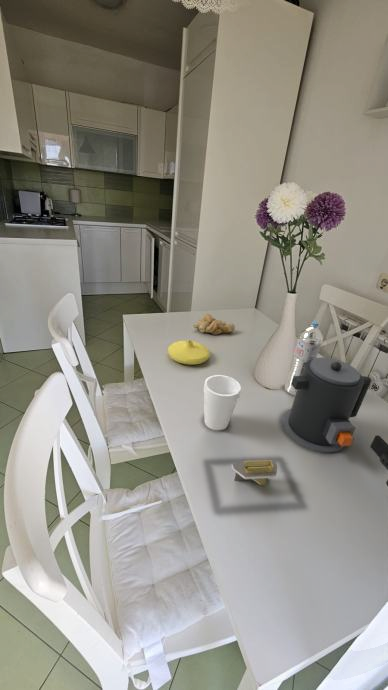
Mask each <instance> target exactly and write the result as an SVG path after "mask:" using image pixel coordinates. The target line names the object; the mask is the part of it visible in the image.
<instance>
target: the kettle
mask: <svg viewBox="0 0 388 690" xmlns="http://www.w3.org/2000/svg"><path fill="white" fill-rule="evenodd" d="M291 384H292V386H293V387H294V388H295V389H297V392H296V396H295V395H294V398H293V402H292V404H291V405H292V406H291V408H289V409H288V410H286V411H285V413H284V414H283V415H282V419H281V424H282V427H283V430H284V432H285V434H287V436H288V437H289V438H290V439H291V440H292V441H294V442H295V443H296V444H298V445H299V446H301V447H303V448H305V449H308V450H310V451H314V452H317V453H323V454H332V453H333V454H334V453H337V452H339V451H341V450H342V449H343V448H344V447H345V446H341V445H340V444H339V442H338V441H337V440H336V438H337V435H338V433H339V432H343V431H348V432H349V433H350V434H351V436H352V437H353V435H354V432H355V431H356V426H354V425H353V423H352V422H351V421H350V418H355V417H356V416H357V415H358V413H359V411H360V408H361V406H362V405H363V402H364V400H365V397H366V395H367V392H368V390H369V388H370V386H371V384H372V378H371V377H370V376H366V375H362V374H361V373H360V372H359V371H358V370H357V368H355V367H354V366H352V365H350V364H349V363H347V362H345V361H342V360H339V359H335V358H332V357H326V356H325V357H323V356H322V357H317V358H315V359H311V360H309V361H307V362H306V364H305V367H304V370H303V373H302V376H293V379H292V382H291Z"/></svg>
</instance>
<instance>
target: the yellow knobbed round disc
mask: <svg viewBox="0 0 388 690" xmlns="http://www.w3.org/2000/svg"><path fill="white" fill-rule="evenodd" d="M167 353H168V357H169V358H171V359H172V360H173V361H174V362H176V363H180V364H184V365H200V364H202V363H205V362H206V361H208V359H209V358H210V356H211V352H210V349H209V348H208V346H206V345H204V344H203V343H201V342H197V341H193V340H191V339H188V340H179V341H175V342H173V343H171V344H170V345H169V347H168V348H167Z"/></svg>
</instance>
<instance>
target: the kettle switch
mask: <svg viewBox="0 0 388 690" xmlns="http://www.w3.org/2000/svg"><path fill="white" fill-rule="evenodd" d="M336 440H337V441H338V442H339V444H340V445H341V446H344V447H350V446H352V443H353V441H354V437H353V435H352V436H351V434H350V433H349V432H348V431H343V432H339V433H338V435H337V438H336Z"/></svg>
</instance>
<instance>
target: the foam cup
mask: <svg viewBox="0 0 388 690" xmlns="http://www.w3.org/2000/svg"><path fill="white" fill-rule="evenodd" d="M241 391H242V387H241V384H240V383H239V382H238V380H237V379H235V378H233V377H231V376H228V375H224V374H213V375H210V376H208V377H207V378H205V380H204V384H203V392H202V393H203V415H204V416H203V417H204V420H203V421H204V424H205V426H206V427H208V428H209V429H211V430H213V431H223V430H226V428H227V427H229V425H230V424H229V423H230V422H231V421H230V420H231V419H232V416H233V413H234V411H235V408H236V405H237V402H238V400H239V398H240V395H241Z"/></svg>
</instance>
